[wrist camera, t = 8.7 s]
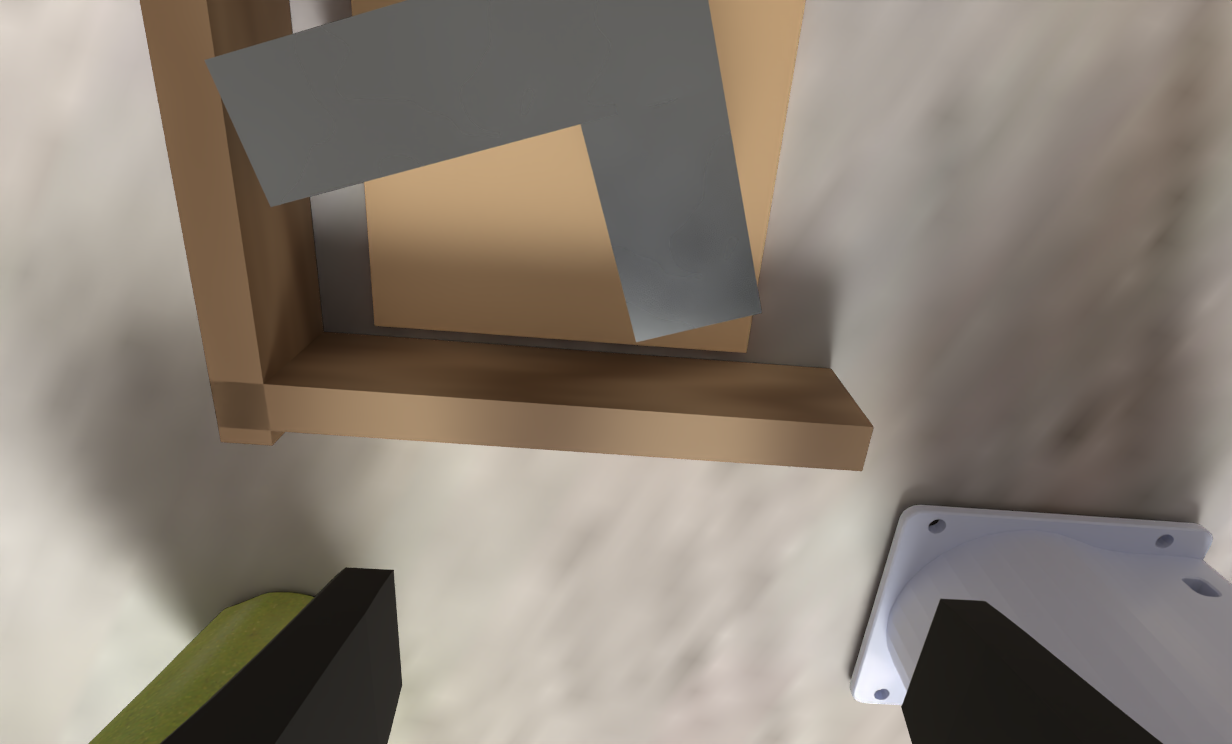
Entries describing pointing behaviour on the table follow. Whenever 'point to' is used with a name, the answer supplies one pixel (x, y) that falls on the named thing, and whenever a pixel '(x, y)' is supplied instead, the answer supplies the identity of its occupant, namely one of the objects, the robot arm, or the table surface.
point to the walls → (423, 368)
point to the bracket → (522, 123)
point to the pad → (564, 212)
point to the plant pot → (202, 668)
